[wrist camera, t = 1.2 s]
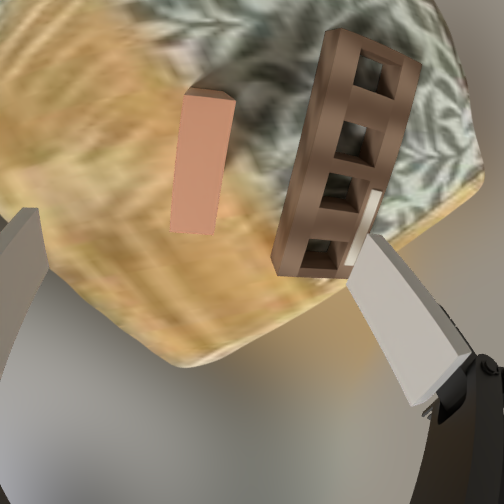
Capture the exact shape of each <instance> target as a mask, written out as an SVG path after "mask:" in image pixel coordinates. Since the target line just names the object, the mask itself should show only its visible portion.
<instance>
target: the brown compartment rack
mask: <svg viewBox="0 0 504 504" xmlns="http://www.w3.org/2000/svg"><path fill="white" fill-rule="evenodd" d="M360 55H361V56H364V57H366V58H369V59H371V60H374V61H376V62H378V63H381V64H383V66H382V70H381V75H380V79H379V83H378V87H377V91H376V93H374V92H372V91H369V90H366V89H364V88H361V87H358V86H355V85H353V82H354V77H355V73H356V69H357V65H358V60H359V56H360ZM421 66H422V64H421V63H419V62H417V61H415V60H413V59H411V58H409V57H408V56H406V55H404V54H402V53H400V52H397V51H395V50H393V49H391V48H389V47H387V46H385V45H382V44H380V43H378V42H376V41H373V40H371V39H369V38H366V37H364V36H361V35H359V34H356V33H354V32H351V31H349V30H346V29H343V28H338V29H333V30H329V31H325V35H324V40H323V44H322V49H321V53H320V57H319V62H318V66H317V71H316V75H315V79H314V84H313V88H312V92H311V96H310V101H309V105H308V109H307V113H306V118H305V122H304V126H303V130H302V134H301V138H300V142H299V147H298V151H297V155H296V159H295V163H294V167H293V171H292V175H291V179H290V183H289V187H288V191H287V195H286V199H285V203H284V207H283V211H282V214H281V218H280V222H279V226H278V230H277V234H276V238H275V242H274V245H273V249H272V253H271V260H272V263H273V265H274V268H275V271H276V274H277V276H288V277H311V278H337V279H348V278H349V276H350V274H351V272H352V269H353V267H354V265H355V262H356V260H357V258H358V255H359V253H360V251H361V248H362V246H363V243H364V241H365V239H366V236H367V234H370V231H371V228H372V226H373V223H374V221H375V218H376V215H377V213H378V210H379V207H380V205H381V202H382V199H383V196H384V194H385V191H386V188H387V185H388V182H389V179H390V176H391V174H392V171H393V168H394V164H395V161H396V158H397V155H398V152H399V149H400V146H401V142H402V139H403V136H404V132H405V129H406V125H407V122H408V118H409V115H410V111H411V107H412V104H413V100H414V96H415V92H416V88H417V84H418V80H419V75H420V71H421ZM343 121H347V122H351V123H354V124H358V125H361V126H364V127H367V129H366V132H365V136H364V139H363V143H362V146H361V150H360V153H359V157H357V156H353V155H348V154H344V153H340V152H336V147H337V144H338V140H339V136H340V133H341V129H342V125H343ZM329 172H330V173H335V174H340V175H345V176H350V177H352V179H351V183H350V186H349V189H348V192H347V195H346V198H345V199H341V198H335V197H329V196H323V193H324V189H325V186H326V182H327V179H328V176H329ZM309 238H310V239H321V240H331V242H330V245H329V248H328V251H327V252H315V251H306V248H307V244H308V241H309Z"/></svg>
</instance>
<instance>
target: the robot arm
mask: <svg viewBox="0 0 504 504" xmlns="http://www.w3.org/2000/svg"><path fill="white" fill-rule="evenodd" d="M48 269H49V264H48V259H47V254H46V250H45V245H44V240H43V234H42V229H41V223H40V216H39V210H38V208H22V209H21V210H20V211H19V212H18V213H17V214H16V215H15V216H14V218H13V219H12V220H11V221H10V222H9V223H8V225H7V226H6V227H5V228H4V229H3V230H2V231H1V233H0V380H1V376H2V374H3V371H4V368H5V365H6V362H7V360H8V357H9V354H10V352H11V349H12V346H13V344H14V341H15V339H16V336H17V334H18V332H19V329H20V327H21V325H22V322H23V320H24V318H25V316H26V313H27V311H28V309H29V307H30V305H31V303H32V301H33V299H34V296H35V294H36V292H37V290H38V288H39V286H40V284H41V282H42V281H43V279H44V277H45V275H46V273H47V271H48ZM346 286H347V287H348V289H349V291H350V292H351V294H352V296H353V298H354V299H355V301H356V303H357V305H358V307H359V308H360V310H361V312H362V313H363V315H364V317H365V319H366V320H367V323H368V324H369V326H370V328H371V330H372V331H373V333H374V335H375V337H376V339H377V341H378V343H379V345H380V347H381V349H382V351H383V352H384V354H385V356H386V358H387V360H388V362H389V364H390V366H391V368H392V370H393V371H394V373H395V376H396V378H397V379H398V382H399V384H400V386H401V388H402V390H403V392H404V394H405V396H406V398H407V400H408V402H409V404H410V406H411V407H412V406H415V405H418V404H421V403H424V402H426V401H427V400H428V399H429V398H430V397H431V396H432V395H433V394H434V393H435V392H436V393H437V395H438V399H436V400H435V401H434V402H433V403H432V404H431V405H430V406H429V407H428V408H427V409H426V410H425V411H424V412H423V414H422V417H424V416H425V415H427V414H428V413H429V412H430V411H432V413H431V414H430V415H429V416H428V417H427V418H428V419H429V420H431V421H430V427H429V432H428V437H427V442H426V447H425V451H424V455H423V459H422V463H421V467H420V471H419V475H418V478H417V482H416V485H415V489H414V492H413V495H412V498H411V501H410V504H504V414H503V408H504V367H498V365H497V363H496V362H495V361H494V360H493V359H492V358H491V357H489V356H488V355H485V354H479V355H478V356H477V355H476V354H475V352H474V351H473V349H472V348H471V346H470V345H469V343H468V342H467V341H466V339H465V338H464V336H463V335H462V333H461V332H460V331H459V329H458V328H457V327H455V324H454V322H453V321H452V319H450V317H449V315H448V314H447V313H446V311H445V310H444V309H443V307H442V306H440V305H439V304H438V303H437V302H436V301H435V299H434V298H433V297H432V295H431V294H430V293H429V292H428V290H427V289H426V288H425V286H424V285H423V284H422V283H421V282H420V280H419V279H418V278H417V276H416V275H415V274H414V273H413V271H412V270H411V269H410V268H409V267H408V265H407V264H406V263H405V262H404V261H403V259H402V258H401V257H400V256H399V255H398V253H397V252H396V251H395V250H394V249H393V248H392V246H391V245H390V244H389V243H388V242H387V241H386V240H385V238H384V237H383V236H382V235H377V234H367V236H366V239H365V241H364V243H363V246H362V248H361V251H360V253H359V255H358V258H357V260H356V262H355V265H354V267H353V269H352V272H351V274H350V276H349V278H348V281H347V283H346ZM0 504H10V502H9V500H8V499H7V497H6V495H5V493H4V491H3V489H2V487H1V485H0Z"/></svg>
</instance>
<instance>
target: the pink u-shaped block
mask: <svg viewBox="0 0 504 504" xmlns="http://www.w3.org/2000/svg"><path fill="white" fill-rule="evenodd" d="M235 104H236V101H235V100H234V99H233V98H232V97H230V96H229V95H228V94H226V93H225V92H224V91H218V90H209V89H201V88H191V87H190V88H189V89H188V90H187V92H186V93H185V94H184V99H183V106H182V113H181V120H180V127H179V135H178V143H177V152H176V161H175V171H174V181H173V193H172V205H171V219H170V232H178V233H191V234H205V235H214V230H215V224H216V217H217V210H218V204H219V197H220V191H221V185H222V178H223V172H224V166H225V160H226V154H227V148H228V143H229V137H230V131H231V126H232V120H233V115H234V110H235Z"/></svg>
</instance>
